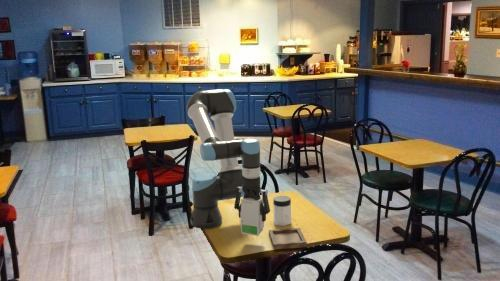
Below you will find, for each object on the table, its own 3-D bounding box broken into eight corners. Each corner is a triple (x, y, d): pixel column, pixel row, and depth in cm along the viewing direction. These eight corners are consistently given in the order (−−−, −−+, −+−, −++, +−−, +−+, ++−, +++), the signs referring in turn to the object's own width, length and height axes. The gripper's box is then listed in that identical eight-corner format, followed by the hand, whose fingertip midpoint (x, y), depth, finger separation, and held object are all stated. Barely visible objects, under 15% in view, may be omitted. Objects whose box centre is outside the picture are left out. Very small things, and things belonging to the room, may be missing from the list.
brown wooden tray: (273, 249, 194) (273, 244, 194) (268, 234, 209) (268, 229, 208) (306, 246, 196) (306, 242, 195) (299, 232, 210) (299, 227, 210)
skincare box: (240, 233, 199) (239, 199, 196) (246, 227, 205) (245, 194, 202) (259, 236, 196) (258, 201, 193) (264, 229, 202) (263, 196, 199)
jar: (280, 227, 216) (279, 203, 213) (269, 222, 223) (269, 198, 220) (295, 222, 221) (294, 198, 218) (284, 217, 228) (284, 194, 225)
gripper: (224, 175, 196) (226, 225, 201) (271, 181, 187) (272, 233, 193) (232, 170, 202) (234, 219, 208) (278, 176, 194) (278, 226, 199)
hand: (252, 226), depth 200 cm, fingers closed on skincare box, 8 cm apart
